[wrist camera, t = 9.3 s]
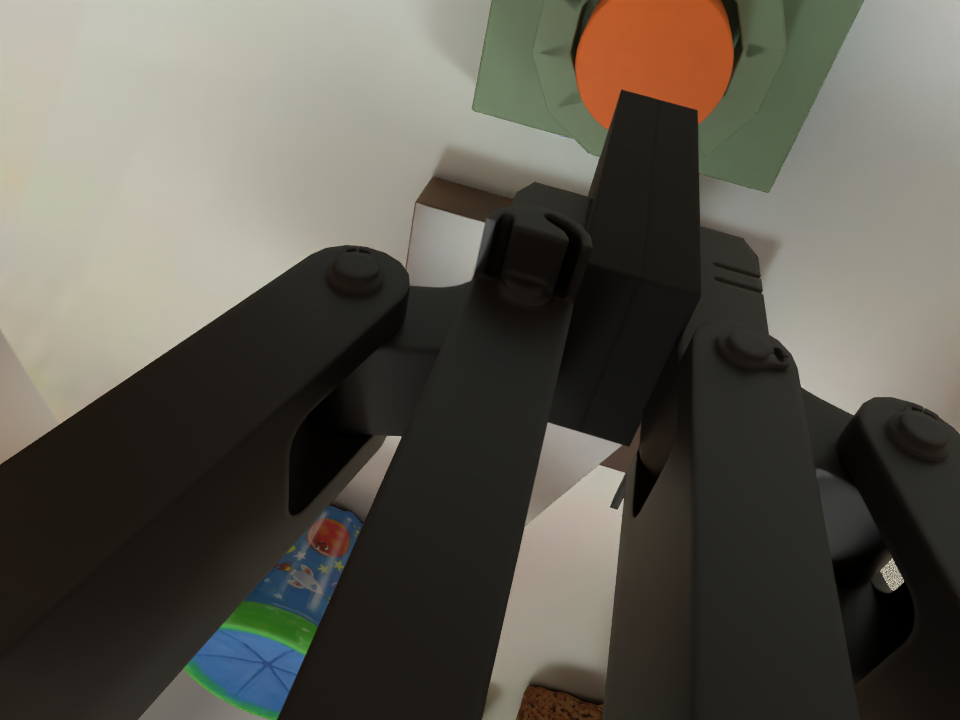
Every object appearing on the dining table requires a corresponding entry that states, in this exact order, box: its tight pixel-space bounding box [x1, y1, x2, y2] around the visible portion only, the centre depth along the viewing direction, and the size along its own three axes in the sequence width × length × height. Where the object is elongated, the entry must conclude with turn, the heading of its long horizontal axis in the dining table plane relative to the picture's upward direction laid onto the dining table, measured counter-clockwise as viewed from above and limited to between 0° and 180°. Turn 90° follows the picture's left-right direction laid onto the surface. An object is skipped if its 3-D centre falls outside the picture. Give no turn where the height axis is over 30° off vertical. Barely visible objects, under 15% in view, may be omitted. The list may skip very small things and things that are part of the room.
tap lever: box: [525, 423, 622, 525], centre depth 29 cm, size 9×3×8 cm, turn 149°
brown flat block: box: [406, 177, 641, 473], centre depth 32 cm, size 14×13×3 cm
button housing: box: [472, 0, 864, 193], centre depth 23 cm, size 11×8×4 cm
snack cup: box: [184, 506, 363, 720], centre depth 44 cm, size 16×10×10 cm
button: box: [575, 0, 734, 130], centre depth 21 cm, size 4×4×2 cm
